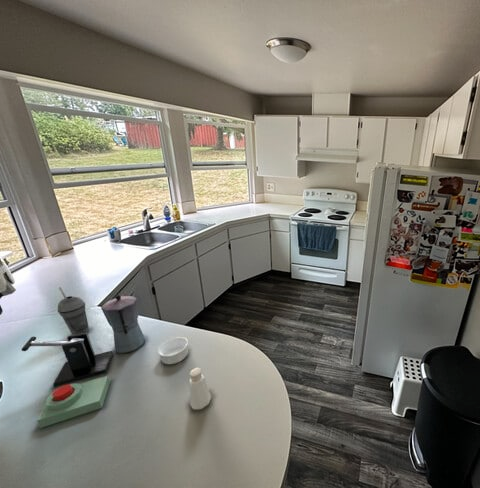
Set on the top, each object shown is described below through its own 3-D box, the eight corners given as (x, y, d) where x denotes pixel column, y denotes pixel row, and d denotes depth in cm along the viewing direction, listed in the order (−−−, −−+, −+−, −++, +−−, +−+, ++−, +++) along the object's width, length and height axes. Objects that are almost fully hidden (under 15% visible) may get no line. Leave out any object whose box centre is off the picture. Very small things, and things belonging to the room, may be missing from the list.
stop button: (51, 403, 64) (49, 398, 64) (57, 392, 67) (55, 387, 67) (70, 398, 66) (68, 393, 65) (75, 387, 69) (73, 382, 68)
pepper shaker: (200, 413, 68) (195, 383, 64) (185, 406, 69) (179, 376, 65) (215, 396, 72) (211, 367, 69) (201, 390, 74) (195, 361, 70)
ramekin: (174, 369, 81) (171, 358, 79) (153, 361, 83) (151, 351, 82) (195, 350, 89) (193, 340, 87) (176, 344, 91) (174, 334, 90)
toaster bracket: (54, 387, 73) (40, 355, 69) (66, 365, 81) (54, 335, 77) (106, 372, 79) (95, 342, 75) (113, 353, 86) (104, 324, 82)
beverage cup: (92, 335, 94) (76, 288, 87) (65, 342, 90) (46, 294, 83) (95, 324, 100) (80, 279, 93) (70, 330, 96) (52, 284, 89)
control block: (40, 428, 63) (34, 415, 61) (56, 398, 70) (50, 386, 68) (101, 408, 68) (97, 395, 66) (110, 382, 75) (106, 371, 74)
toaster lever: (20, 353, 69) (21, 345, 68) (29, 341, 73) (31, 334, 72) (79, 352, 75) (80, 345, 75) (84, 341, 79) (86, 335, 79)
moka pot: (143, 328, 98) (131, 284, 91) (152, 350, 88) (139, 301, 81) (112, 340, 92) (97, 293, 85) (117, 364, 82) (101, 313, 75)
